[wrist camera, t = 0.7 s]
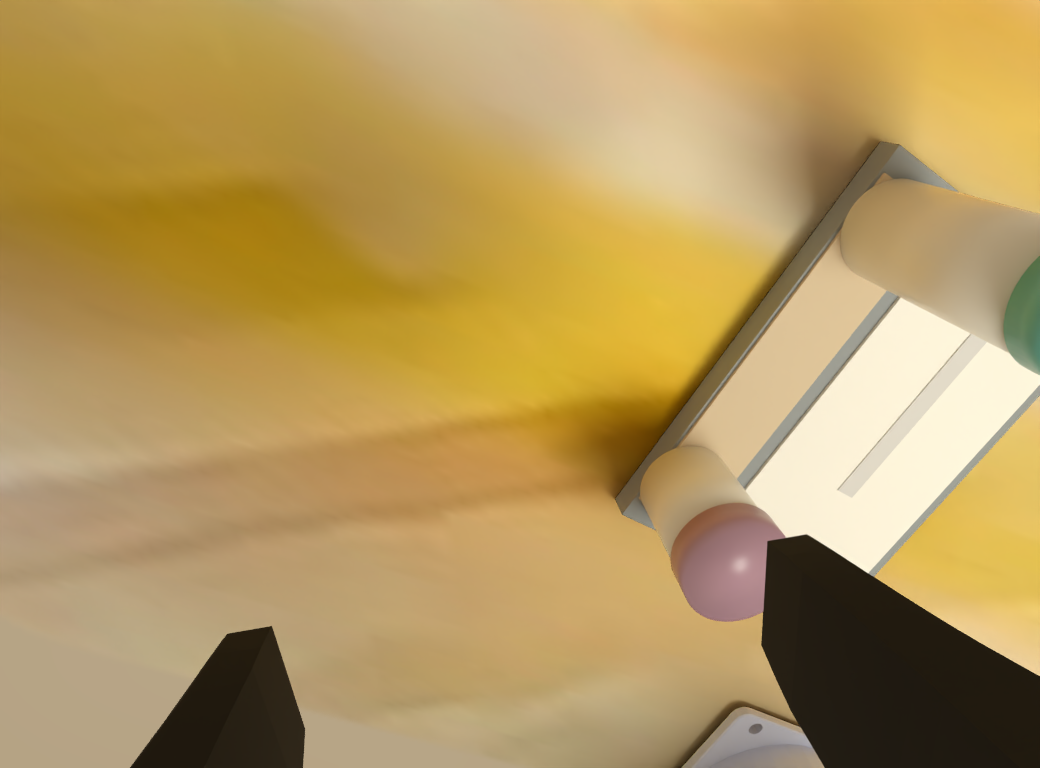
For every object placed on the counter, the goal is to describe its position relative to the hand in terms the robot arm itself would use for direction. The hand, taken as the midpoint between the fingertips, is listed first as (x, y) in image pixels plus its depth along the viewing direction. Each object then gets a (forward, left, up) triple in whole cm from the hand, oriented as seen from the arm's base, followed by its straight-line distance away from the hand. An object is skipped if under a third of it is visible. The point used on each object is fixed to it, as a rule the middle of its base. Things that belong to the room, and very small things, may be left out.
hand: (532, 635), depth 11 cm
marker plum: (-7, 0, -9) cm, 11 cm away
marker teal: (-7, -9, -9) cm, 14 cm away
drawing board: (-10, -4, -10) cm, 15 cm away
